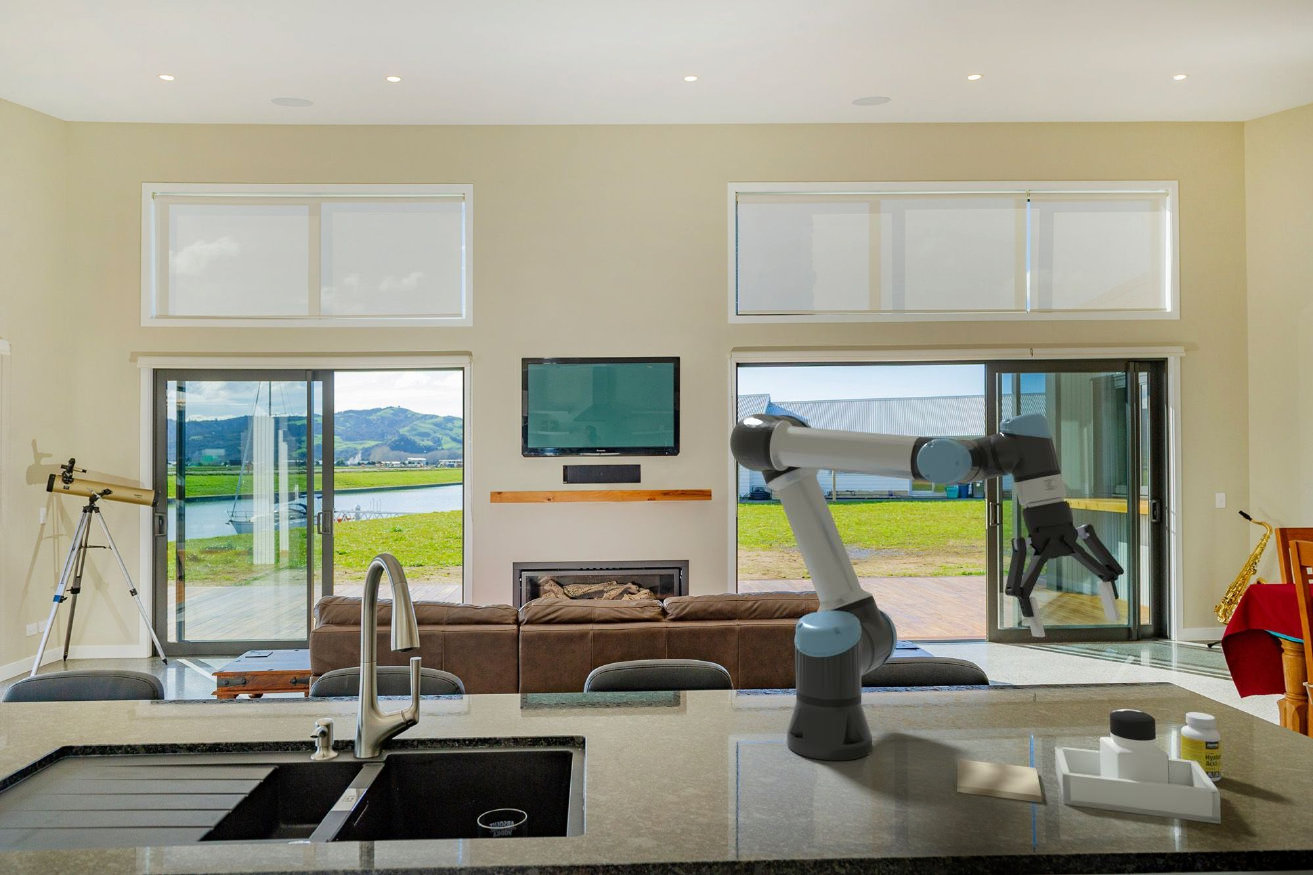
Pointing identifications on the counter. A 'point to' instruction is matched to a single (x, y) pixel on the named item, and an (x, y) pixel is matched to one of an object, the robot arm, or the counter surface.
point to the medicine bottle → (1133, 749)
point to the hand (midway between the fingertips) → (1076, 628)
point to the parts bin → (1137, 788)
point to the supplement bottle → (1202, 743)
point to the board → (998, 780)
